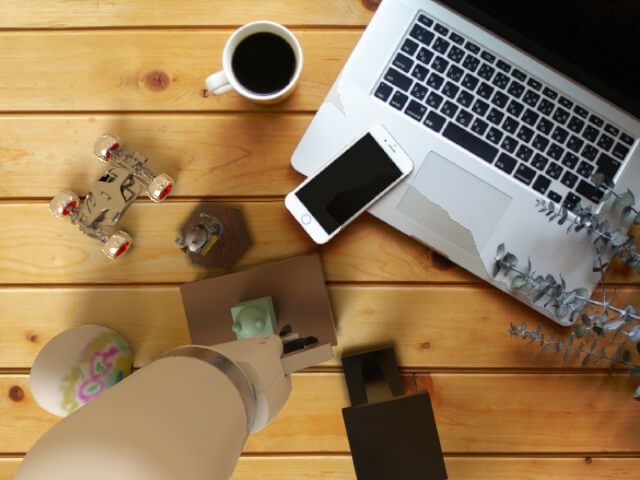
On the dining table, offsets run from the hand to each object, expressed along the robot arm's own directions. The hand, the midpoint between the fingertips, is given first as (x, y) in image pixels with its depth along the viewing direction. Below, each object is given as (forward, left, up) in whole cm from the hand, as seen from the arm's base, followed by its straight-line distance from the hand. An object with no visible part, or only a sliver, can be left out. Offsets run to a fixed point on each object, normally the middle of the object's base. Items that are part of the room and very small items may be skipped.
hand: (239, 352), depth 47 cm
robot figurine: (+12, +6, -31) cm, 34 cm away
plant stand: (-13, -12, -31) cm, 36 cm away
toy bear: (+1, +1, -20) cm, 20 cm away
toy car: (+21, +19, -31) cm, 42 cm away
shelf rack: (+1, +1, -31) cm, 31 cm away
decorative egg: (-2, +27, -31) cm, 41 cm away
